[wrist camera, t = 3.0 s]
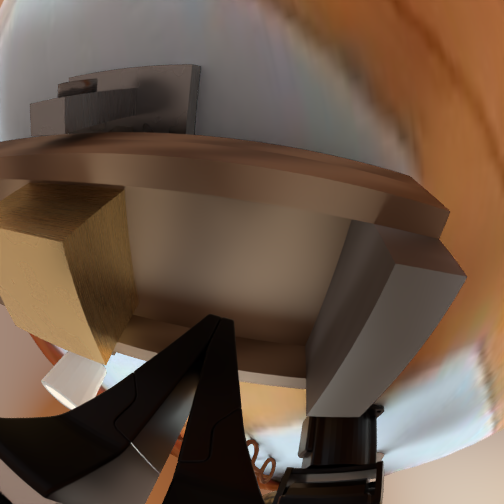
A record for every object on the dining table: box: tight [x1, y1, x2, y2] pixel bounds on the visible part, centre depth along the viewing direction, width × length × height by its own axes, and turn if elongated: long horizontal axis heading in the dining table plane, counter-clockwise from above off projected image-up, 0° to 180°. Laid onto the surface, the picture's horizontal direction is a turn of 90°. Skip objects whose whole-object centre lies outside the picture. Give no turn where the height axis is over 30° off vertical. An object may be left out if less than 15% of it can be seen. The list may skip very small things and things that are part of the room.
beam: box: [0, 132, 467, 417], centre depth 11 cm, size 28×10×6 cm, turn 83°
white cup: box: [41, 351, 107, 410], centre depth 26 cm, size 7×7×7 cm
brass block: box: [0, 183, 139, 365], centre depth 10 cm, size 6×6×4 cm
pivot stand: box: [30, 64, 201, 355], centre depth 13 cm, size 8×16×6 cm, turn 173°
